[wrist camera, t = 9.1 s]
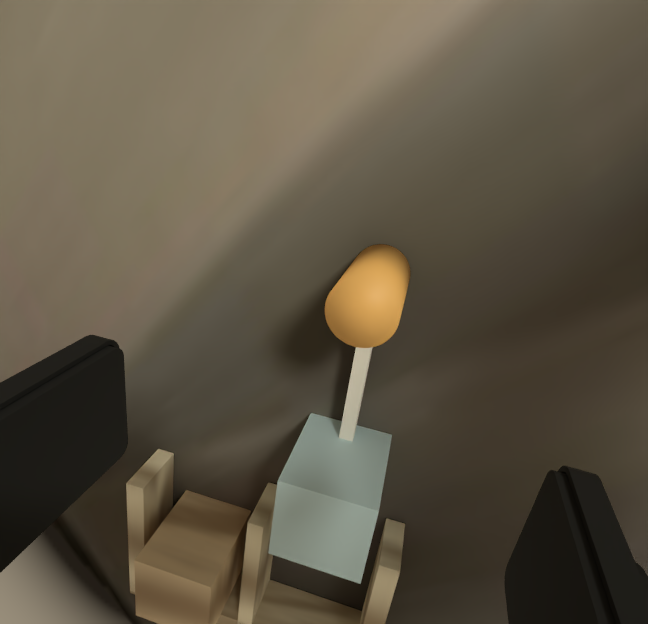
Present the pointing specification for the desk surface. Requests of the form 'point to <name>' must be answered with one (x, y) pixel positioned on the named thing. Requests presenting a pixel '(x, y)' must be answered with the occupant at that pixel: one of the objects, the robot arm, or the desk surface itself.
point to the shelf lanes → (260, 559)
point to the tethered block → (343, 433)
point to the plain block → (191, 562)
